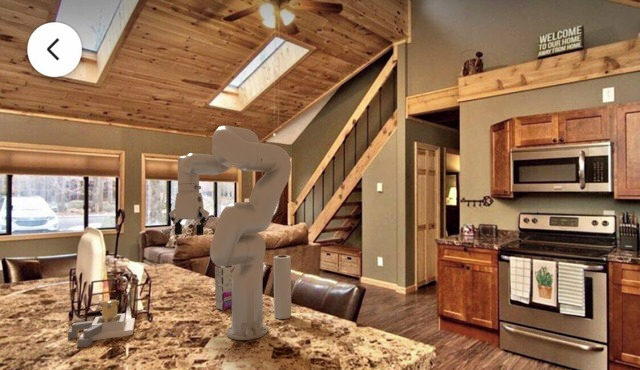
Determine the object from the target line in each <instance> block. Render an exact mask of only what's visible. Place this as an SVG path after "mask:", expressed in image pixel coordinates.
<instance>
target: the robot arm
mask: <svg viewBox="0 0 640 370" xmlns="http://www.w3.org/2000/svg"><path fill="white" fill-rule="evenodd" d="M211 141H212V142H211V143H212V148H211V154H207V153H188V154H187V155H183V156H178V159H177V192H176V196H175V203H174V209H173V210H171V211H170V212H168V215H169V217H170V220H171V222H172V224H173V225H174V235H175V236H180V235H182V234H183V226H182V225H183V224H182V222H183V221H184V220H194V221H195V222H196V223H197V224H196V228H195V229H196V231H195V233H196V236H203V235H204V225H205V223H206V221H208V218H209V216H210V212H209V211H208V210H206V209H205V208H204V207H205V206H204V200H203V195H202V192H200V190H202V186H201V185H200V175H201V176H202V175H203V176H206V175H207V176H218V175H220V174H223V173H226V172H228V171H229V170H231V168H232V167H235V168H236V169H237V170H240V171H244V172H257V173H258V172H260V173H264V174H263V175H262V177H260V178H259V179H258V180H257V181H256V183H255V184H254V186H253V187H252V190H251V194H250V196H249V198H248V200H246V201H243V202H242V201H241V202H240V201H239V202H232V203H230V204H228V205H226V206H225V207H223V209H222V210H221V213H220V214H219V218H218V220H217V224H216V227H215V229H214V232H213V236H212V239H211V242H210V249H209V256H210V259H211V261H212V263H213V264H214V265H215V266H221V267H225V266H231V265H236V266H235V268H234V271H233V274H232V308H231V326H229V327H228V328H227V329H226V336H227V337H228V338H230V339H232V340H236V341H250V340H251V341H252V340H255V339H258V338H259V339H260V338H262V337H264V336H265V335H266V334H267V333H268V330H269V328H268V325H266V324H265V323H263V320H264V317H263V314H264V313H263V311H264V309H263V304H264V303H263V297H264V296H263V290H264V289H263V282H264V281H263V277H264V276H263V275H264V274H263V271H264V270H263V269H264V259H265V255H266V241H265V238H264V237H263V235H261V234H260V233H263V232H265V231H267V230H268V228H269V227H270V225H271V222H272V220H273V217H274V215H275V212H276V210H277V207H278V205H279V200H280V198H281V196H282V194H283V191H284V189H285V187H286V185H287V183H288V182H289V180H290V176H291V172H292V162H291V158H290V155H289V154H288V152H287V150H286V149H284V148H283V147H281V146H279V145H275V144H273V143H272V144H271V143H264V142H263V143H261V142H260V140H259V137H258V136H257V134H256V133H255V132H254V131H252V129H248V128H244V127H238V126H233V125H232V126H231V125H221V126H219V127H218V128H217V129H216V130H215V131H214V133H213V135H212V140H211Z"/></svg>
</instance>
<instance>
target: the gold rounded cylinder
mask: <svg viewBox="0 0 640 370" xmlns="http://www.w3.org/2000/svg"><path fill="white" fill-rule="evenodd" d="M119 305H120V300H118V299H108V300H104V301H102V302H100V303H99V307H101V316H102V323H106V322H113V321H117V314H118V306H119Z"/></svg>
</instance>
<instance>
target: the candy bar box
mask: <svg viewBox="0 0 640 370" xmlns="http://www.w3.org/2000/svg"><path fill="white" fill-rule="evenodd" d="M235 266H236V265H231V266H225V267H221V266H217V265H214V287H215V289H214V290H215V291H214V292H215V294H214V295H215V309H216V310H219V311H227V310H229V309H232V274H233V271H234V268H235Z"/></svg>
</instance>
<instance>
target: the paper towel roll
mask: <svg viewBox="0 0 640 370" xmlns="http://www.w3.org/2000/svg"><path fill="white" fill-rule="evenodd" d="M291 262H292V256H290V255H285V254H277V255H275V256H273V316H274V318H275V319H279V320H285V319H290V318H291V317H292V265H291V264H292V263H291Z"/></svg>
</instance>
